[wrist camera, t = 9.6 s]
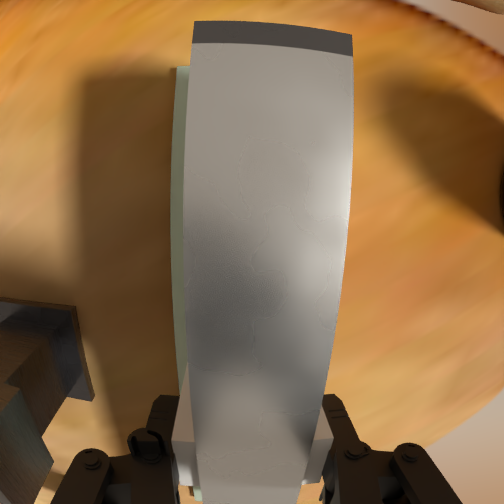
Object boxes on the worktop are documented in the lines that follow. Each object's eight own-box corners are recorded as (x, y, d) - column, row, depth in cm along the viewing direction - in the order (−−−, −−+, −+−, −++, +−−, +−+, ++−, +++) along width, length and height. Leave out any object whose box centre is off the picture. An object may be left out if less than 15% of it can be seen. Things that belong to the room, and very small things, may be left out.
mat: (195, 497, 19) (195, 500, 19) (178, 68, 12) (177, 66, 12) (285, 496, 19) (285, 500, 19) (332, 77, 13) (334, 75, 12)
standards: (84, 508, 20) (61, 583, 10) (-5, 296, 14) (-117, 378, 4) (145, 521, 20) (132, 605, 10) (78, 306, 15) (-40, 432, 5)
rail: (215, 521, 16) (215, 572, 11) (208, 77, 10) (194, 21, 5) (266, 520, 16) (272, 571, 12) (308, 83, 10) (351, 34, 6)
